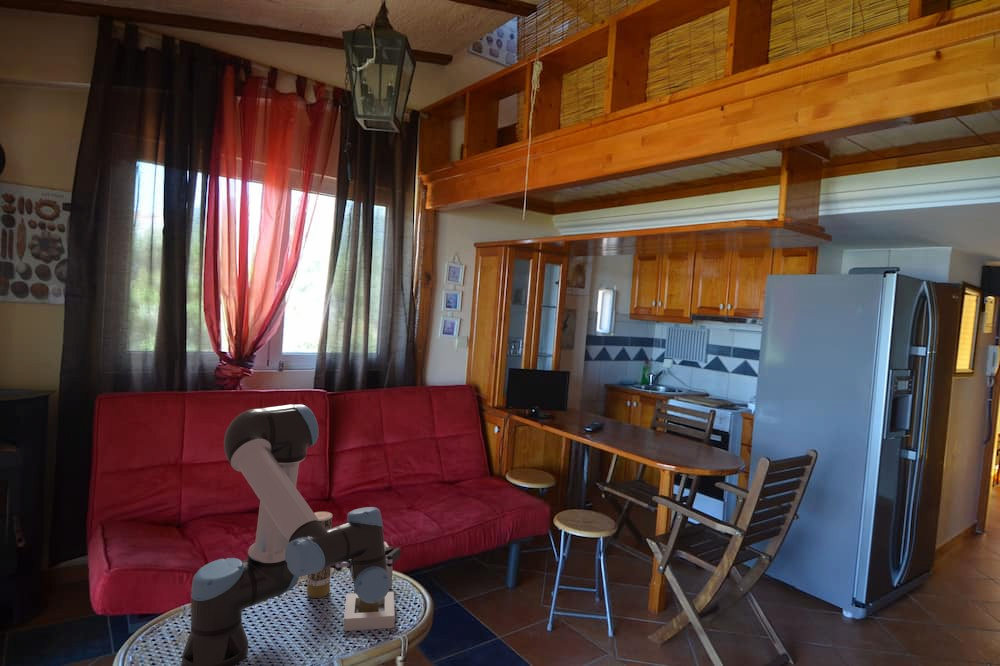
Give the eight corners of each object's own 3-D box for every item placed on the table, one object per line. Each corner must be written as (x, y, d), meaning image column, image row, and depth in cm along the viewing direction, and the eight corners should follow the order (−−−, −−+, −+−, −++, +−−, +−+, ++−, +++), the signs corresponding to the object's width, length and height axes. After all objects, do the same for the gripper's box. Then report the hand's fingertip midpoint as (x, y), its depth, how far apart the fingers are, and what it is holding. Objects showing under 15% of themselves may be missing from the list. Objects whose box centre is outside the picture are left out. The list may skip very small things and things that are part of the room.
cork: (373, 620, 166) (375, 582, 165) (354, 616, 167) (355, 579, 166) (382, 609, 172) (383, 573, 171) (363, 606, 173) (364, 570, 172)
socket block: (343, 631, 161) (343, 618, 161) (346, 605, 175) (346, 593, 175) (394, 627, 164) (394, 615, 164) (393, 602, 178) (393, 591, 178)
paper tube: (323, 586, 186) (326, 510, 185) (333, 594, 181) (336, 516, 180) (303, 592, 181) (305, 514, 180) (312, 601, 176) (315, 521, 175)
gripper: (311, 589, 134) (310, 566, 154) (417, 580, 142) (404, 559, 162) (313, 556, 135) (312, 537, 155) (418, 548, 143) (405, 531, 163)
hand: (359, 548), depth 159 cm, fingers open, 13 cm apart
